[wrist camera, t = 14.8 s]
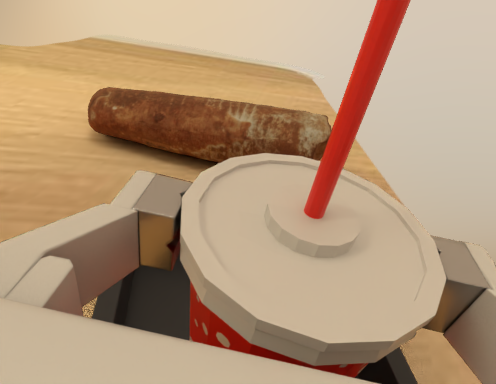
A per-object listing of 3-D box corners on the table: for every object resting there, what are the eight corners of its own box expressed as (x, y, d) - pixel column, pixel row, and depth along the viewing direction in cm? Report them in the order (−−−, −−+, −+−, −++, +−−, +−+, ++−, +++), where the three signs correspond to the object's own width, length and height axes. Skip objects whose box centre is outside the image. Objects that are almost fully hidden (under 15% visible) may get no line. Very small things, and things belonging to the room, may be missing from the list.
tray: (-36, 937, 6) (-120, 1070, 4) (126, 240, 19) (124, 198, 17) (514, 747, 8) (616, 778, 6) (316, 246, 21) (331, 210, 19)
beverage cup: (333, 504, 11) (931, 51, 2) (144, 479, 10) (118, -130, 2) (314, 330, 16) (491, -10, 7) (186, 309, 15) (226, -68, 7)
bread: (312, 201, 25) (336, 135, 22) (76, 142, 26) (65, 70, 23) (313, 161, 30) (333, 103, 27) (116, 113, 31) (112, 51, 28)
